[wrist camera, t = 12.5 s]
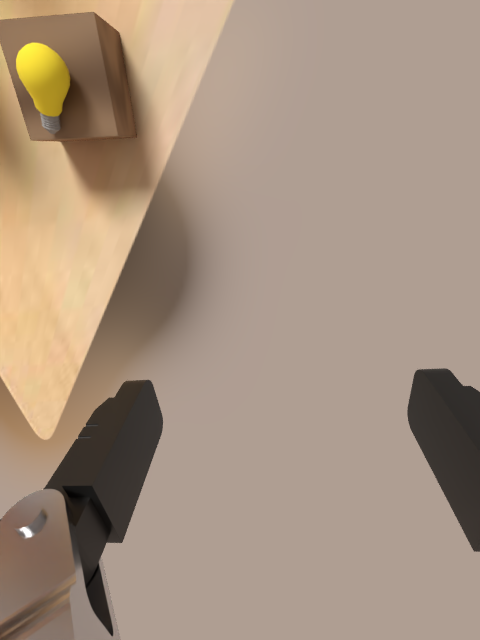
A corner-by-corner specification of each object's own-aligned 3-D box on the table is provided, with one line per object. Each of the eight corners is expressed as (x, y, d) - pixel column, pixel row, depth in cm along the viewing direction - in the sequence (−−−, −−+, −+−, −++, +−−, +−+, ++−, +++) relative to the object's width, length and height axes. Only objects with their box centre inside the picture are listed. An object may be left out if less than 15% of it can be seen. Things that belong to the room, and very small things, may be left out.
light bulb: (70, 46, 24) (61, 56, 22) (77, 130, 29) (70, 145, 26) (20, 31, 23) (4, 40, 21) (35, 120, 28) (23, 135, 25)
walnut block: (34, 40, 28) (-7, 20, 24) (120, 33, 28) (93, 11, 24) (62, 141, 32) (30, 140, 28) (138, 137, 32) (117, 135, 27)
